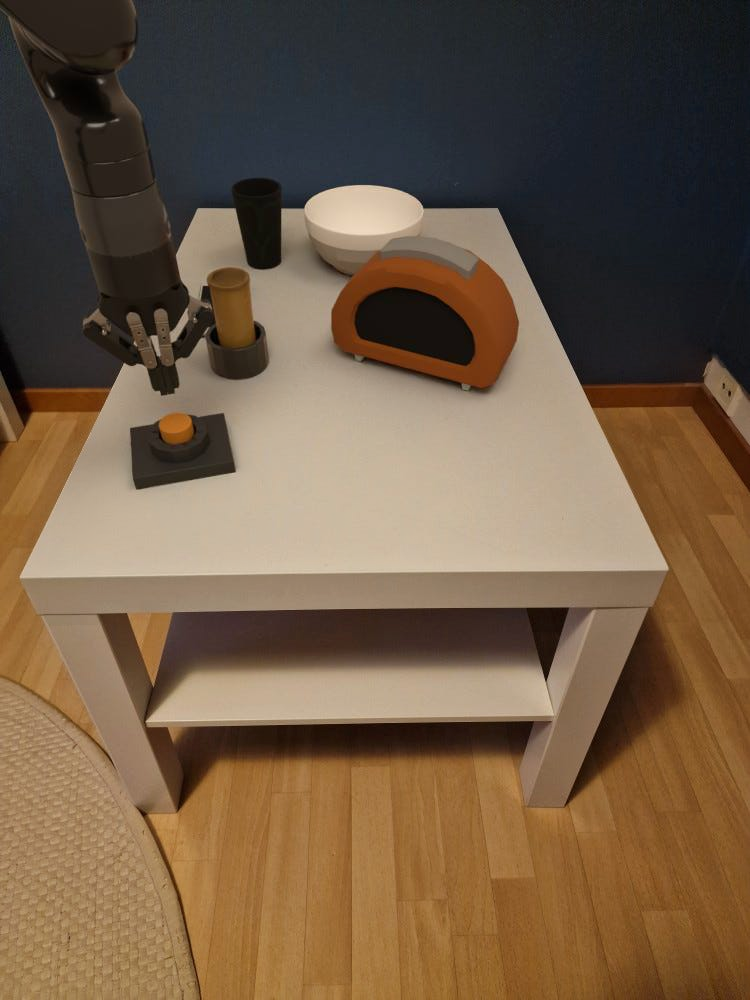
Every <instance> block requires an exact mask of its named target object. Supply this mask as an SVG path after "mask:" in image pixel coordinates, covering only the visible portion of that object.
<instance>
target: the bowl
mask: <svg viewBox="0 0 750 1000" xmlns="http://www.w3.org/2000/svg"><path fill="white" fill-rule="evenodd" d="M303 215H304V216H303V217H304V222H305V227H306V230H307V234H308V237H309V240H310V243H311V245H312V247H313V248H314V250H315V251H317V253H318V254H319V255H320V257H321V258H322V259H323V261H325V262H327V263H328V264H330V265H332V266H333V268H334V269H335V270H337V271H339V272H340V273H342V274H346V275H348V276H351V277H353V276H354V275H355V274H356V273H357V272H358V271H359V270H360V269H361V268H362V267H363V266H364V265H365V263H366V262H367V261H368V260H369V259H370V258H371V257H372V256H373V255H374V254H375V253H376V252H378V251H380V250H381V249H382V248H383V247H384V246H385V245H386V244H387V243H388V242H389V241H390V240H391V239H393V238H400V237H406V236H420V234H421V231H422V228H423V223H424V215H425V211H424V206H423V205H422V203H421V202H420V201H419V199H417V197H415V196H413V195H411V194H409V193H407V192H404V191H402V190H400V189H396V188H392V187H387V186H382V185H372V184H371V185H370V184H356V185H355V184H354V185H344V186H337V187H334V188H330V189H327V190H324V191H321V192H319V193H317V194H316V195H313V196H312V197H311V198H309V200H307V201H306V204H305V205H304V209H303Z"/></svg>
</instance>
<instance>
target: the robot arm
mask: <svg viewBox="0 0 750 1000" xmlns="http://www.w3.org/2000/svg"><path fill="white" fill-rule="evenodd" d="M0 10H1V11H2V12H3V13H4V14H5V15H7V17H8V20H9V23H10V27H11V31H12V34H13V36H14V39H15V42H16V44H17V47H18V50H19V52H20V55H21V57H22V59H23V61H24V64H25V66H26V68H27V71H28V74H29V75H30V78H31V80H32V82H33V85H34V86H35V89H36V92H37V93H38V95H39V98H40V100H41V102H42V104H43V106H44V108H45V110H46V112H47V114H48V116H49V118H50V121H51V123H52V126H53V128H54V131H55V135H56V140H57V145H58V149H59V152H60V156H61V158H62V161H63V166H64V169H65V173H66V175H67V178H68V183H69V185H70V190H71V193H72V199H73V205H74V210H75V216H76V219H77V223H78V226H79V234H80V236H81V237H80V238H81V239H82V241H83V242H84V246H85V250H86V252H87V256H88V259H89V262H90V266H91V269H92V272H93V276H94V279H95V282H96V286H97V289H98V292H99V293H98V297H97V298H98V299H97V309H96V310H94V312H93V313H88V314H85V315H84V316H83V320H82V334H83V335H84V337H86V338H87V339H88V340H90V341H91V342H93V343H94V344H96V345H97V346H99V347H100V348H101V349H103V350H104V351H106V352H107V353H109V354H110V355H112V356H113V357H115V358H116V359H117V360H119V361H120V362H122V363H124V364H125V365H126V366H128V367H135V366H136V365H142V366H144V367H145V368H146V371H147V374H148V378H149V382H150V385H151V389H152V390H153V391H154V392H155V393H156V392H159V394H160V396H162V397H163V396H168V395H175V394H176V389H179V388H180V378H179V371H178V368H177V365H176V364H177V363H176V362H177V361H178V360H179V359H181V358H182V359H188V358H189V357H190V356H191V355H192V354H193V352H194V350H195V348H196V347H197V345H198V344H199V342H200V341H201V339H202V338H203V337H204V336H203V334H204V333H205V331H206V329H207V328H208V326H209V325H210V323H211V322H212V320H213V318H214V315H213V311H212V307H211V303H210V301H209V300H207V299H202V300H201V301H200V300H199V298H198V299H197V298H195V297H194V296H192V295H190V292H189V288H188V287H187V286H186V285H185V283H184V282H183V280H182V277H181V274H180V269H179V264H178V259H177V255H176V249H175V245H174V240H173V236H172V230H171V222H170V220H169V216H168V210H167V207H166V203H165V199H164V196H163V193H162V190H161V188H160V185H159V181H158V177H157V173H156V168H155V164H154V158H153V154H152V149H151V144H150V141H149V136H148V135H149V134H148V131H147V127H146V125H145V122H144V119H143V116H142V115H141V112H140V111H139V109H138V108H137V107H136V105H135V104H134V103H133V102H132V101H131V100H130V99H129V97H128V96H127V94H126V93H125V92H124V89H123V87H122V85H121V82H120V79H119V76H118V71H120V70H121V69H122V68H124V67H125V66H126V65H127V64H128V63H129V62H130V61H131V59H132V57H133V55H134V53H135V52H136V49H137V46H138V40H139V21H138V16H137V11H136V8H135V5H134V2H133V0H0ZM186 310H187V318H188V320H187V321H186V323H185V324H184V326H183V328H182V329H181V331H180V333H179V334H178V336H177V337H176V340H174V341H172V338H171V332H173V331H174V330H175V329H176V328H177V326H178V324H179V323H180V321H181V320H182V317H183V315H184V313H185V312H186ZM111 323H112V324H113V325H115V326H116V327H117V328H119V329H120V330H121V331H122V332H124V333H125V334H126V335H127V336H130V337H133V339H134V342H135V343H133V342H132V341H130V339H128V338H126V337H125V336H123V335H122V334H121V333H119V332H118V331H116V330H115V329H113V328H112V327H111ZM152 336H156V337H157V341H158V342H157V343H158V348H159V353H160V355H158V353H157V351H156V348H155V345H154V342H153V339H152Z"/></svg>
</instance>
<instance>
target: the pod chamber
mask: <svg viewBox="0 0 750 1000" xmlns="http://www.w3.org/2000/svg"><path fill="white" fill-rule="evenodd" d="M254 328H255V336H256V341H255V342H254V343H253V344H250V345H248V346H245V347H240V348H224V347H221V346H220V344H219V338H218V332H217V326H216V323H215V324H214V325H213V326H211V327H210V328H209V329H208V330H207V332H206V334H205V336H204V338H205V343H206V344H205V345H206V348H207V353H208V354H207V355H208V358H209V364H210V369H211V370H212V372H213V373H215V374H216V375H217V376H219V377H221V378H224V379H228V380H246V379H250V378H253V377H257V376H258V375H259V374H261V373H262V372H264V371H265V370H266V369H267V367H268V366H269V361H270V357H269V355H270V354H269V347H268V339H267V332H266V328H265V326H264V325H262V324H261V323H260V322H259V321H256V320H254Z"/></svg>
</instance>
